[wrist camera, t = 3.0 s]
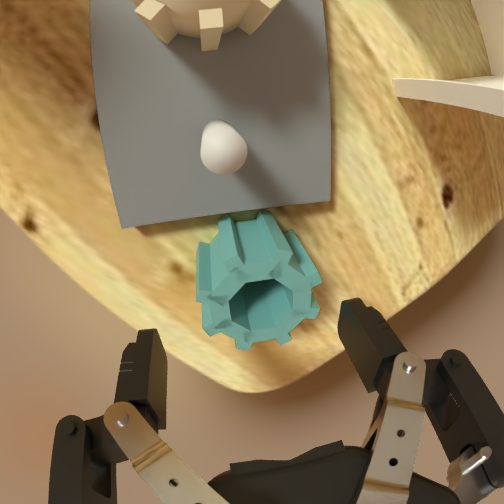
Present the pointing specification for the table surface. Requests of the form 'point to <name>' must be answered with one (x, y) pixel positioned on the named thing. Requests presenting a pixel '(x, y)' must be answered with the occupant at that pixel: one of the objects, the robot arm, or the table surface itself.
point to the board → (211, 105)
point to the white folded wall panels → (475, 88)
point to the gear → (255, 281)
